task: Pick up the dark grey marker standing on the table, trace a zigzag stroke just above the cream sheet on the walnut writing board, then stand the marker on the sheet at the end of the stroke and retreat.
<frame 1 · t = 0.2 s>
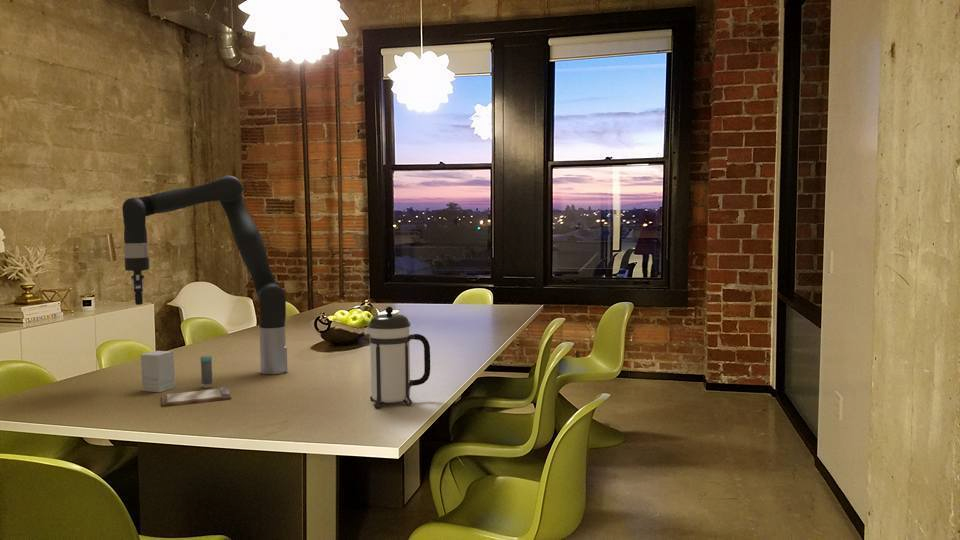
hand: (139, 303, 234), 29 cm above the table, tool pointing down, fingers open, 8 cm apart
marker: (207, 387, 232), on the table
supplement box: (158, 390, 230), on the table
coffee press: (394, 402, 211), on the table
writing board: (196, 398, 217), on the table
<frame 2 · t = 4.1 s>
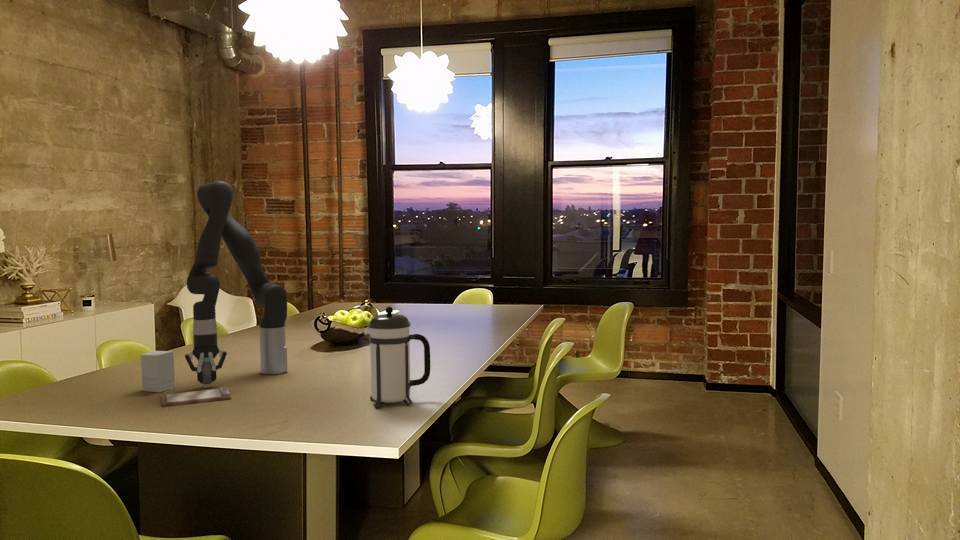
hand: (206, 381, 232), 2 cm above the table, tool pointing down, fingers closed on marker, 3 cm apart
marker: (207, 387, 232), on the table, touching gripper
everything else where it was.
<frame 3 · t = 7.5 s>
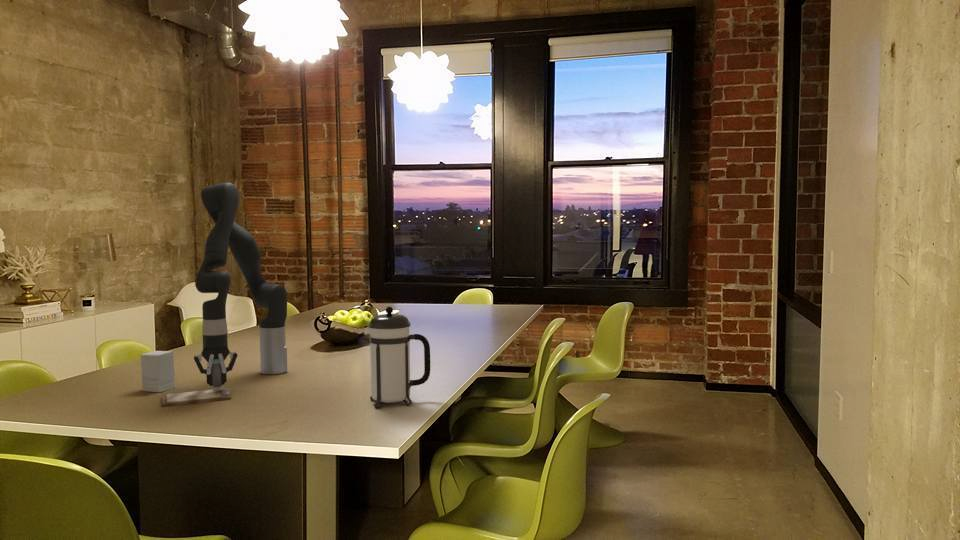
hand: (216, 384, 221), 3 cm above the table, tool pointing down, fingers closed on marker, 3 cm apart
marker: (217, 390, 221), point 2 cm above the table, touching gripper
everything else where it was.
when the fingers open (3 cm above the table, at t = 10.9 s): marker stays where it is, resting on writing board.
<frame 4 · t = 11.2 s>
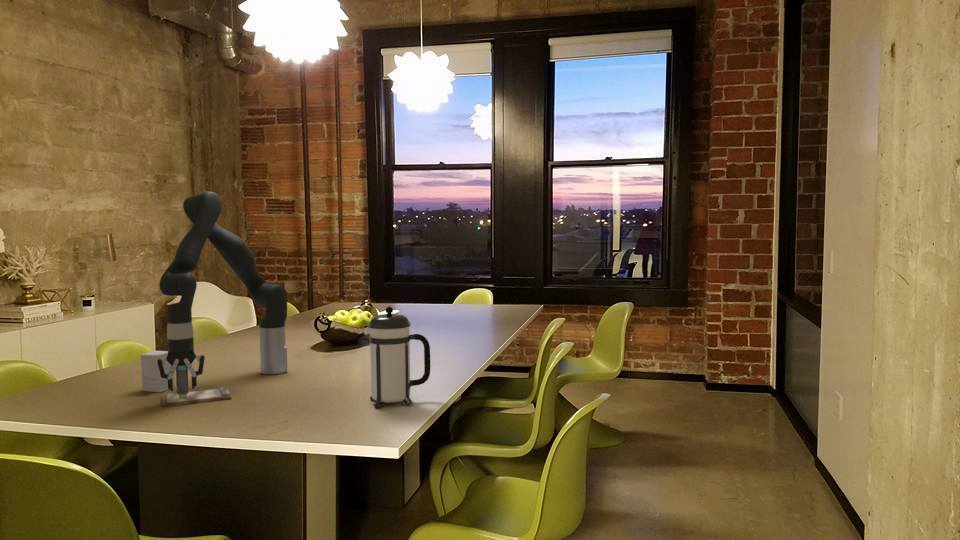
hand: (182, 389, 214), 4 cm above the table, tool pointing down, fingers open, 5 cm apart
marker: (182, 397, 214), point 1 cm above the table, touching writing board
everything else where it was.
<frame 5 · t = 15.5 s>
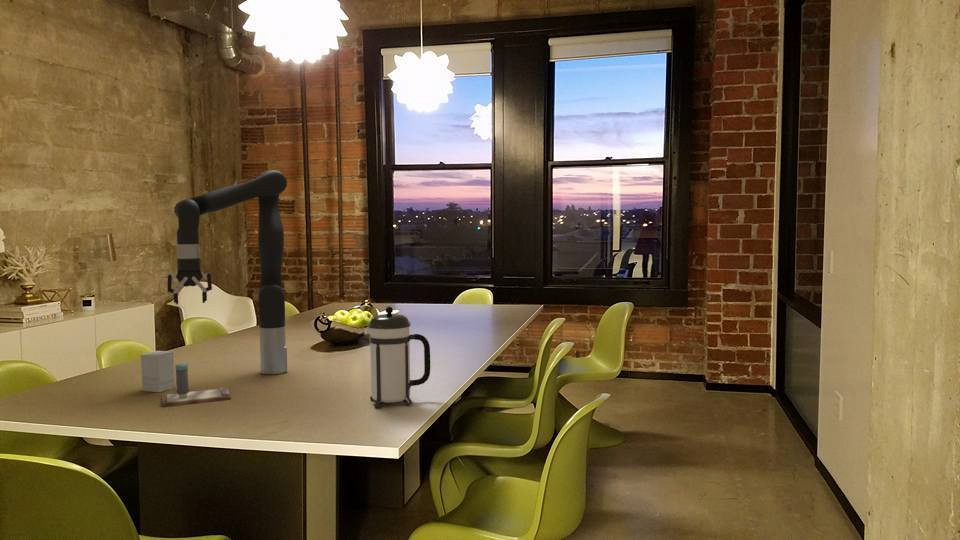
hand: (190, 303, 237), 28 cm above the table, tool pointing down, fingers open, 8 cm apart
nothing on the table moved.
at the end: marker inside the target area (0.0 cm from its centre), point 1.0 cm above the table; marker tilted 0°; the gripper is holding nothing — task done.
